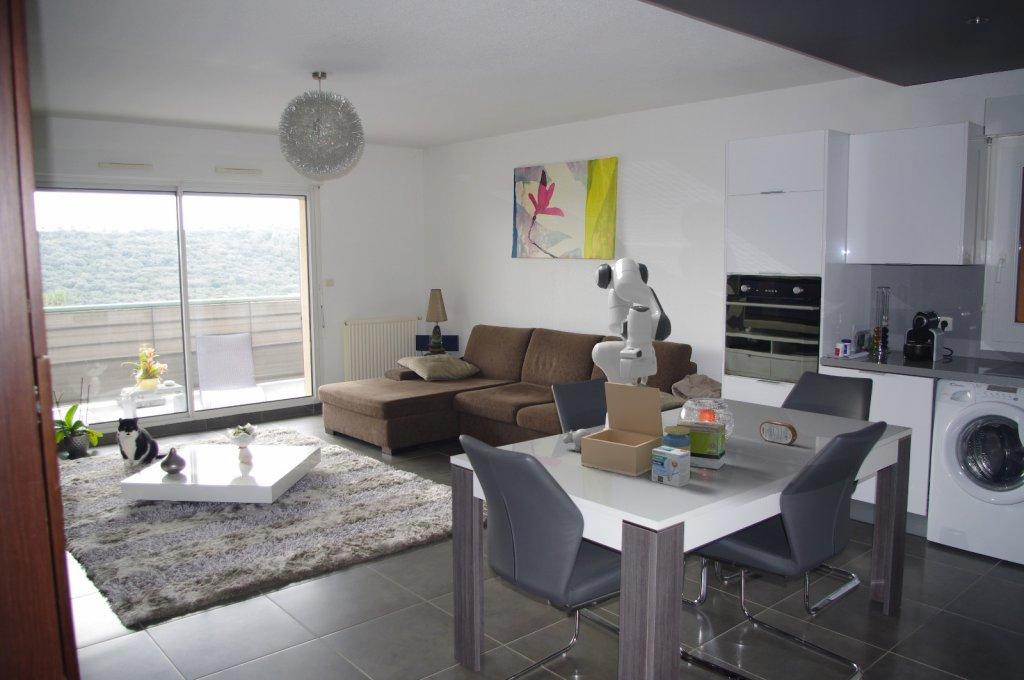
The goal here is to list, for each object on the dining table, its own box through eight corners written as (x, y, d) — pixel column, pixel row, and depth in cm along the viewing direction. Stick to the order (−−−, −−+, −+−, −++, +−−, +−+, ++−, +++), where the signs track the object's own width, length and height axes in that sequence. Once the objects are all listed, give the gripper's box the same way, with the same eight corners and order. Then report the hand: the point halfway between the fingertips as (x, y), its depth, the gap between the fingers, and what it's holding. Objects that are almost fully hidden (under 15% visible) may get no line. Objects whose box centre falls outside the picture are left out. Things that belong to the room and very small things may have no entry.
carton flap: (609, 428, 273) (616, 423, 277) (662, 437, 259) (669, 431, 263) (604, 382, 269) (612, 377, 273) (658, 388, 255) (665, 384, 259)
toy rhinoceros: (567, 446, 287) (567, 424, 286) (595, 450, 281) (595, 428, 280) (558, 450, 281) (558, 428, 280) (586, 454, 275) (586, 432, 274)
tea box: (725, 463, 262) (726, 422, 260) (717, 470, 253) (718, 428, 252) (684, 457, 269) (684, 418, 268) (675, 464, 261) (676, 423, 259)
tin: (797, 445, 286) (797, 424, 285) (792, 447, 284) (793, 425, 283) (762, 438, 297) (763, 418, 296) (758, 439, 295) (758, 419, 294)
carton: (608, 454, 274) (608, 428, 273) (661, 464, 260) (662, 437, 259) (581, 465, 260) (581, 437, 259) (635, 476, 246) (635, 447, 245)
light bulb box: (650, 480, 242) (651, 448, 241) (662, 476, 246) (663, 445, 245) (678, 487, 234) (679, 454, 233) (690, 483, 239) (691, 450, 238)
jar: (660, 467, 257) (661, 425, 255) (687, 467, 256) (688, 425, 255) (665, 475, 248) (665, 431, 246) (692, 475, 247) (693, 431, 246)
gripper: (646, 348, 275) (645, 385, 276) (617, 352, 259) (616, 391, 260) (661, 349, 271) (661, 386, 272) (632, 353, 255) (632, 393, 256)
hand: (639, 389), depth 266 cm, fingers open, 3 cm apart
